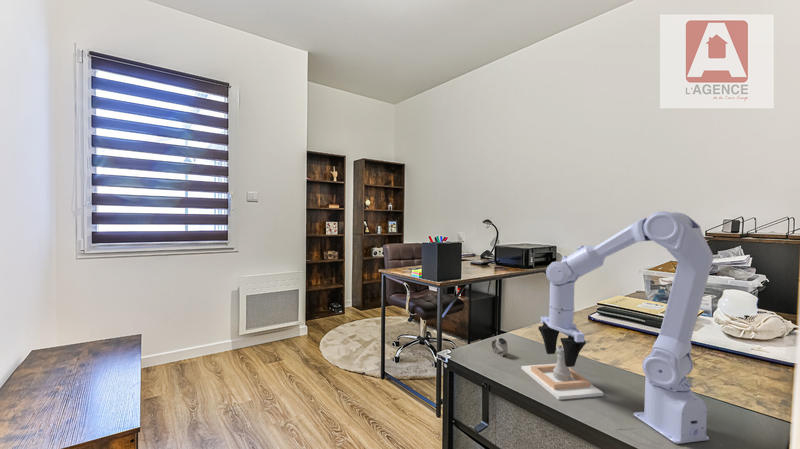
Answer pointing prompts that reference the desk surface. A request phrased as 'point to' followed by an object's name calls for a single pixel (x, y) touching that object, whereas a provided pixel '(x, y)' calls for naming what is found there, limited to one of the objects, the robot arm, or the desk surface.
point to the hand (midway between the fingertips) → (559, 359)
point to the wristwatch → (502, 344)
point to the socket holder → (562, 382)
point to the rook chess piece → (561, 366)
